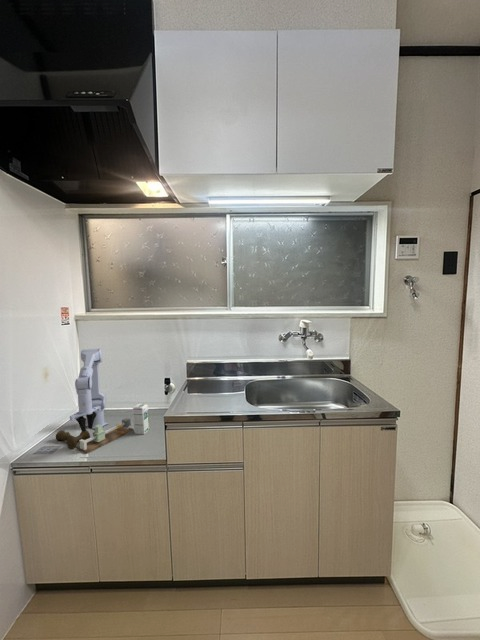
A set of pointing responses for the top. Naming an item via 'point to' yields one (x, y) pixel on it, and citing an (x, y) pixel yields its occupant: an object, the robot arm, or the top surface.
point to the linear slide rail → (125, 424)
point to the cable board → (106, 439)
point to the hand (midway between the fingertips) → (87, 429)
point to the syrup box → (141, 418)
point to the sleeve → (99, 433)
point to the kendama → (72, 438)
